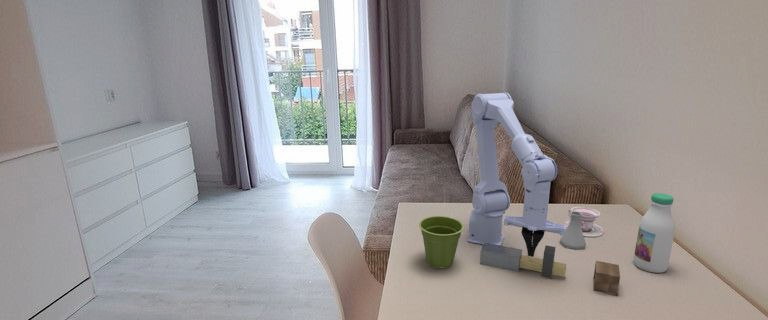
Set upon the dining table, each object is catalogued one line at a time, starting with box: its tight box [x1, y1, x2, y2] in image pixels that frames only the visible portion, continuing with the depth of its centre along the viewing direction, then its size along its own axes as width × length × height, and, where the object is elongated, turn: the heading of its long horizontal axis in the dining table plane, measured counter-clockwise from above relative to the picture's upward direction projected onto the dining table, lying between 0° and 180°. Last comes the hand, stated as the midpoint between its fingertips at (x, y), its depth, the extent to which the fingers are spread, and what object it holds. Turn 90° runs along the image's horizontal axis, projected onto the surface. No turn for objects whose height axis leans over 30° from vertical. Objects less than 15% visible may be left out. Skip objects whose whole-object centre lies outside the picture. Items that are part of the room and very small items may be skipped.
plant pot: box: [418, 215, 465, 269], centre depth 110 cm, size 12×12×11 cm
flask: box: [559, 210, 586, 250], centre depth 120 cm, size 7×7×10 cm
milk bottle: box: [632, 192, 676, 274], centre depth 107 cm, size 8×8×20 cm
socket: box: [592, 260, 621, 297], centre depth 100 cm, size 5×6×5 cm
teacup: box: [562, 206, 605, 238], centre depth 131 cm, size 12×12×6 cm
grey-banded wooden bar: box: [519, 245, 567, 279], centre depth 107 cm, size 20×4×7 cm, turn 64°
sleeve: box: [479, 243, 523, 273], centre depth 110 cm, size 10×4×4 cm, turn 64°
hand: (531, 254), depth 106 cm, fingers closed
